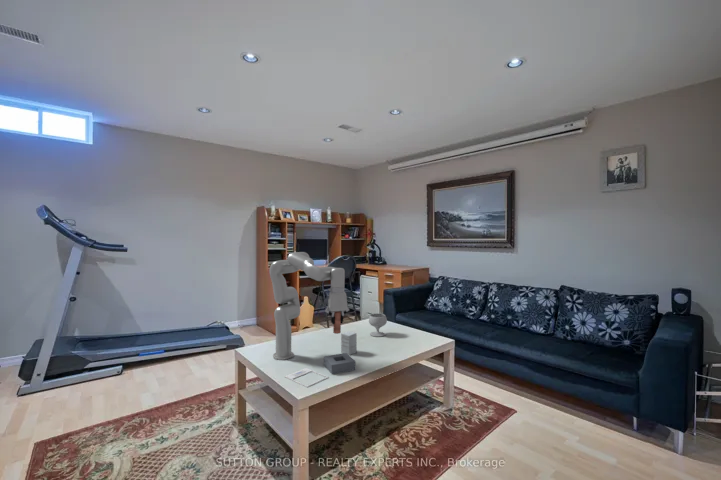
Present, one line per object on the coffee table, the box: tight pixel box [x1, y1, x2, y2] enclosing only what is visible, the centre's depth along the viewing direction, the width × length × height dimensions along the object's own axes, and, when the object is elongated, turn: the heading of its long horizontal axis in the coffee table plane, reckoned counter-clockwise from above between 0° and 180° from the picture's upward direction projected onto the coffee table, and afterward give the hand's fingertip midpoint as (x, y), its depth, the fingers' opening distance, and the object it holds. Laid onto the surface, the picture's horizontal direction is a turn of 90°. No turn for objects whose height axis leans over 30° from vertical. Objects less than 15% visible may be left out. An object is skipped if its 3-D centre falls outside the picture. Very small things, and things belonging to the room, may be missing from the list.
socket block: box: [323, 353, 356, 375], centre depth 180 cm, size 14×14×5 cm
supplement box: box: [340, 330, 358, 356], centre depth 204 cm, size 7×7×13 cm
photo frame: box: [284, 367, 329, 388], centre depth 167 cm, size 15×1×18 cm
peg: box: [332, 311, 342, 335], centre depth 175 cm, size 4×4×14 cm
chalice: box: [368, 313, 388, 338], centre depth 243 cm, size 14×14×15 cm
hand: (337, 322), depth 175 cm, fingers closed on peg, 4 cm apart
